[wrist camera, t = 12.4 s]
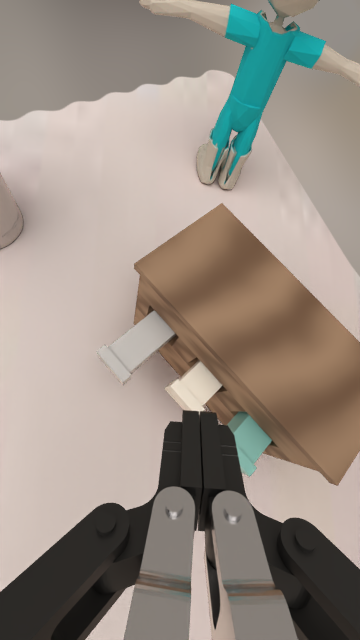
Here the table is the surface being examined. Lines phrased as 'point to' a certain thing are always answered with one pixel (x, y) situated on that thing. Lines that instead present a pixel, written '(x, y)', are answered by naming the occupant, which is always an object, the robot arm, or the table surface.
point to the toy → (252, 72)
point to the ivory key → (194, 388)
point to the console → (257, 340)
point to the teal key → (248, 441)
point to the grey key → (136, 346)
